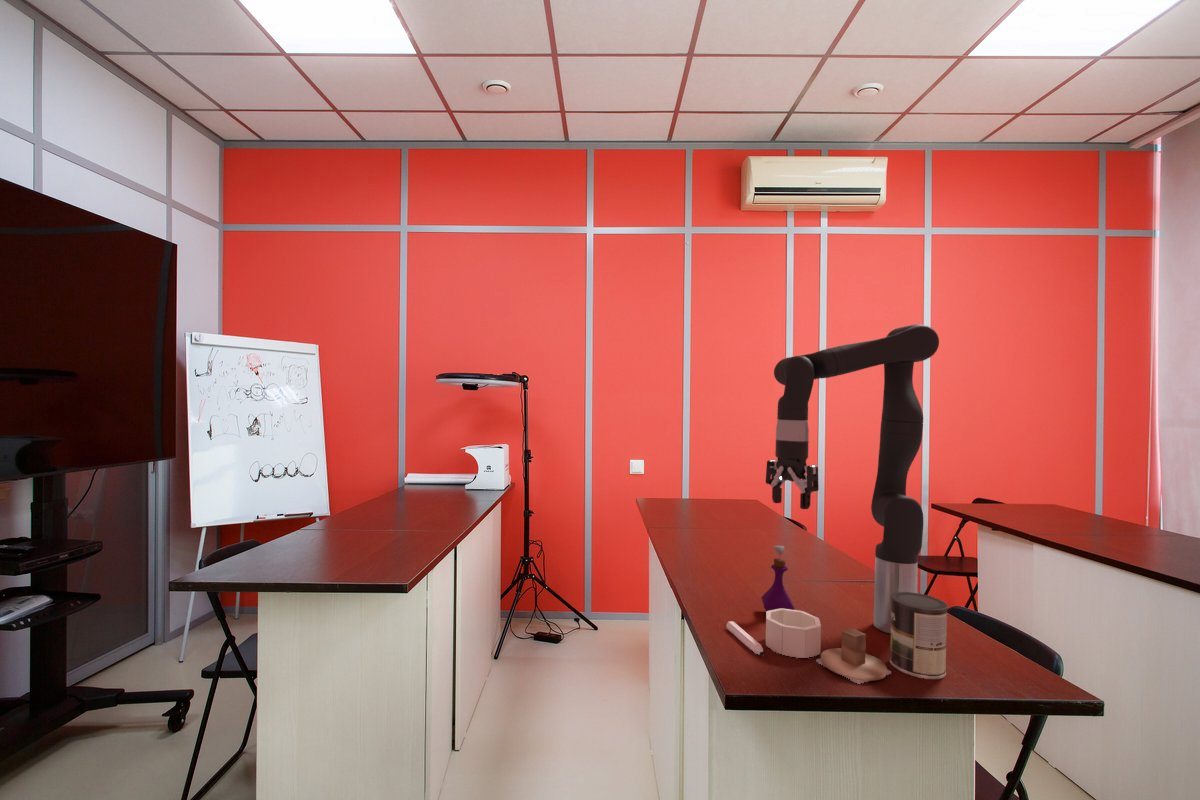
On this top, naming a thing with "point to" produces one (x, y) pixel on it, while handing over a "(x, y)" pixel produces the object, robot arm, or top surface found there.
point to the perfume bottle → (777, 586)
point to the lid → (853, 658)
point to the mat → (851, 678)
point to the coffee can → (918, 635)
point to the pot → (793, 633)
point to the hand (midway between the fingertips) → (790, 505)
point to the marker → (745, 638)
